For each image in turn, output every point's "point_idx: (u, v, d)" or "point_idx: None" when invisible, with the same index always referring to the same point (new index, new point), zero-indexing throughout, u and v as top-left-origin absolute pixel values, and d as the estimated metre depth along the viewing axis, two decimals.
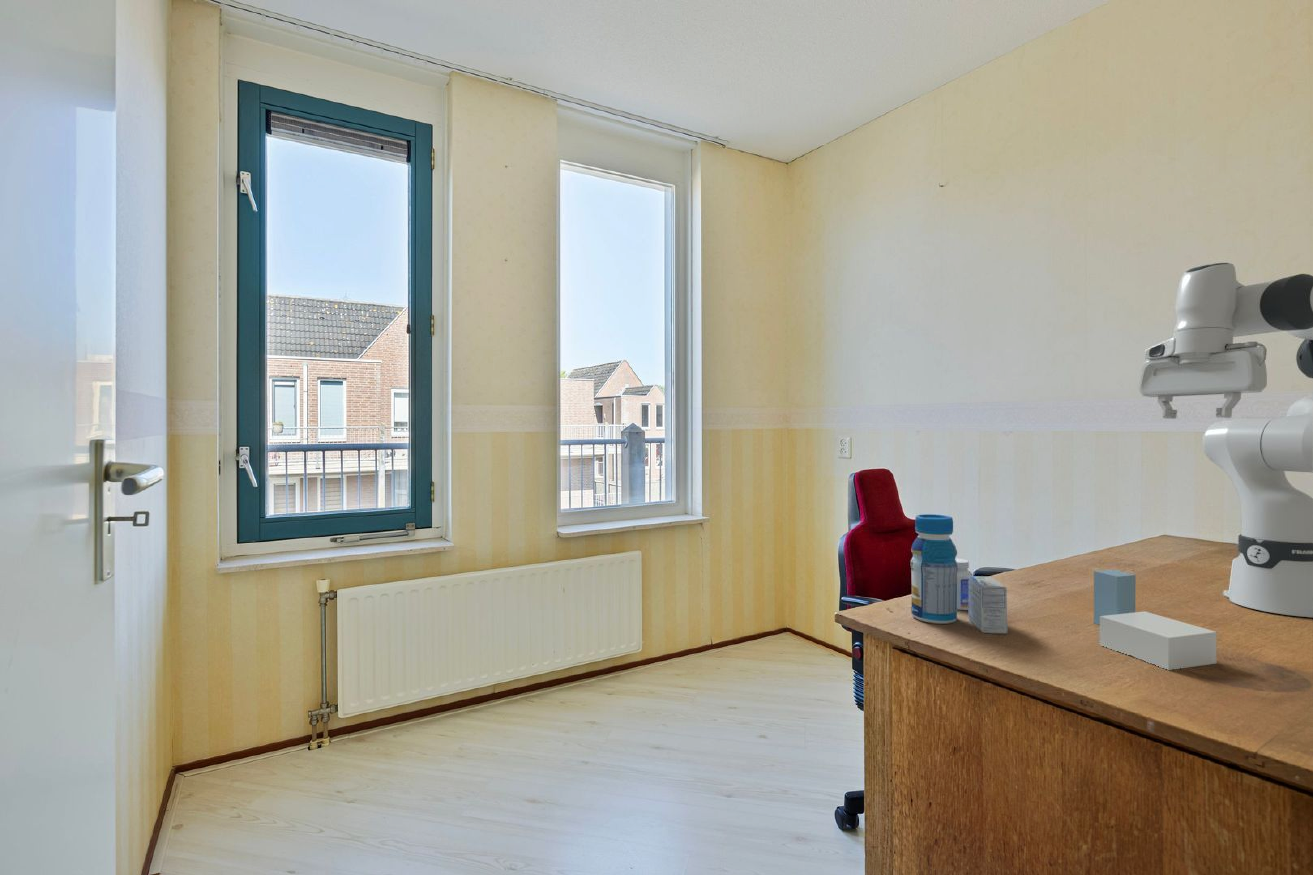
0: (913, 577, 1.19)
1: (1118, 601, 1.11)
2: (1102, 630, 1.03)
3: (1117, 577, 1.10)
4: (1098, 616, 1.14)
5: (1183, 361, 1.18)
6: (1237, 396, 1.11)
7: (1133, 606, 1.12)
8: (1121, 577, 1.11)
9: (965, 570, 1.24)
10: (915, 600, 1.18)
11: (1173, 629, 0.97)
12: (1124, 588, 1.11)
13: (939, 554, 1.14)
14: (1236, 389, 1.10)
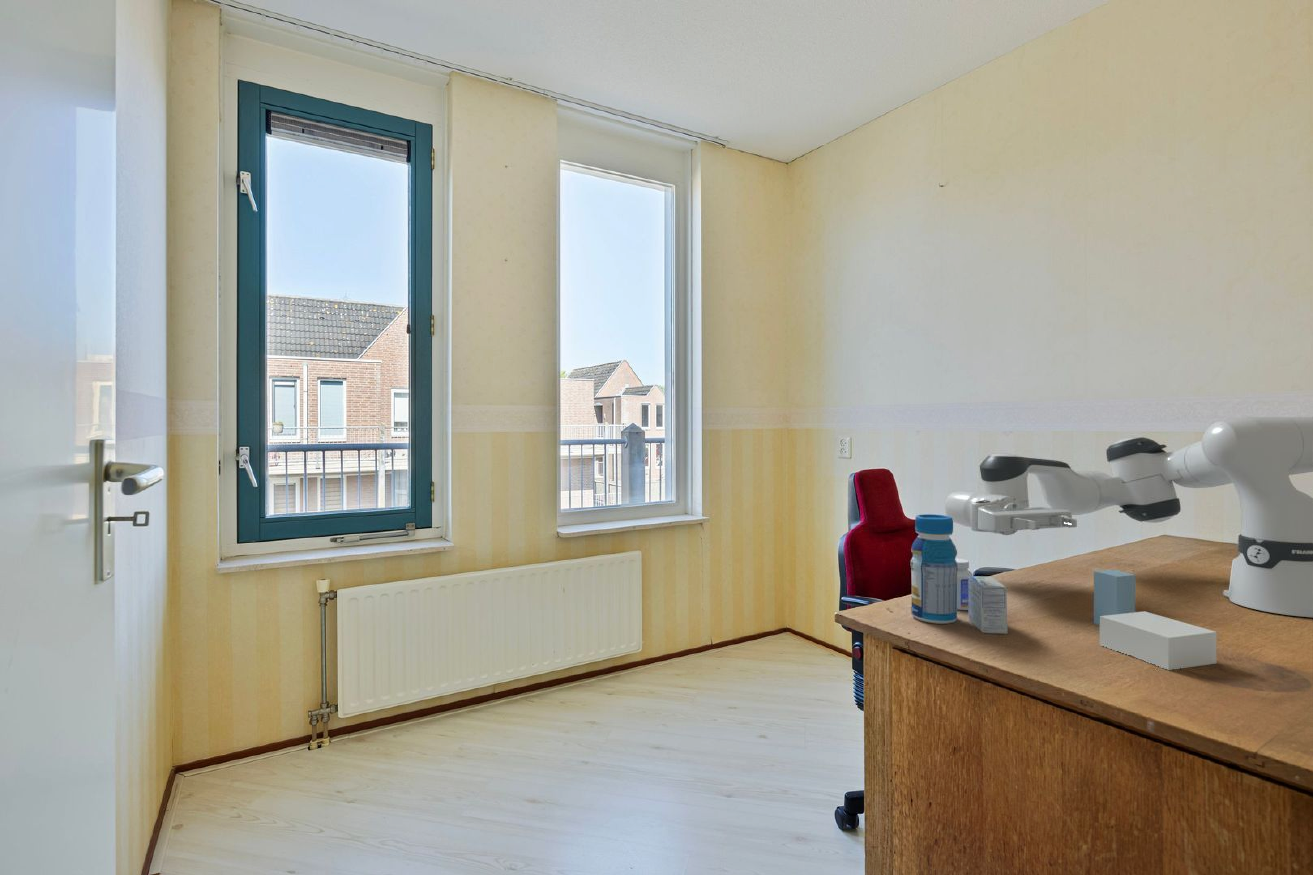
0: (913, 577, 1.19)
1: (1118, 601, 1.11)
2: (1102, 630, 1.03)
3: (1117, 577, 1.10)
4: (1098, 616, 1.14)
5: (1010, 503, 1.35)
6: None
7: (1133, 606, 1.12)
8: (1121, 577, 1.11)
9: (965, 570, 1.24)
10: (915, 600, 1.18)
11: (1173, 629, 0.97)
12: (1123, 588, 1.11)
13: (939, 554, 1.14)
14: (1063, 511, 1.32)
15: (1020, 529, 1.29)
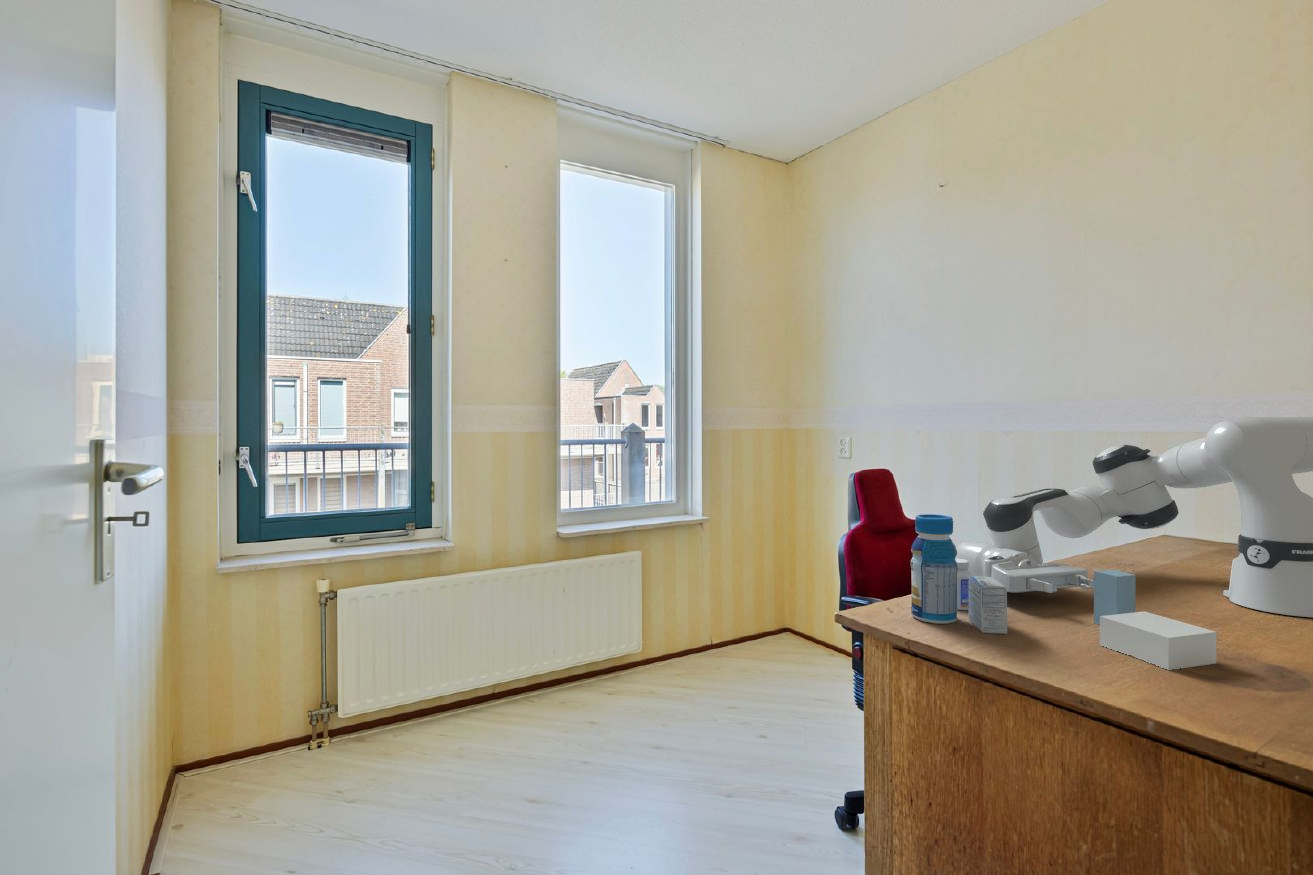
0: (913, 577, 1.19)
1: (1118, 601, 1.11)
2: (1102, 630, 1.03)
3: (1117, 577, 1.10)
4: (1098, 616, 1.14)
5: (1024, 560, 1.31)
6: None
7: (1133, 606, 1.12)
8: (1121, 577, 1.11)
9: (965, 570, 1.24)
10: (915, 600, 1.18)
11: (1173, 629, 0.97)
12: (1123, 588, 1.11)
13: (939, 554, 1.14)
14: (1079, 570, 1.28)
15: (1036, 590, 1.25)
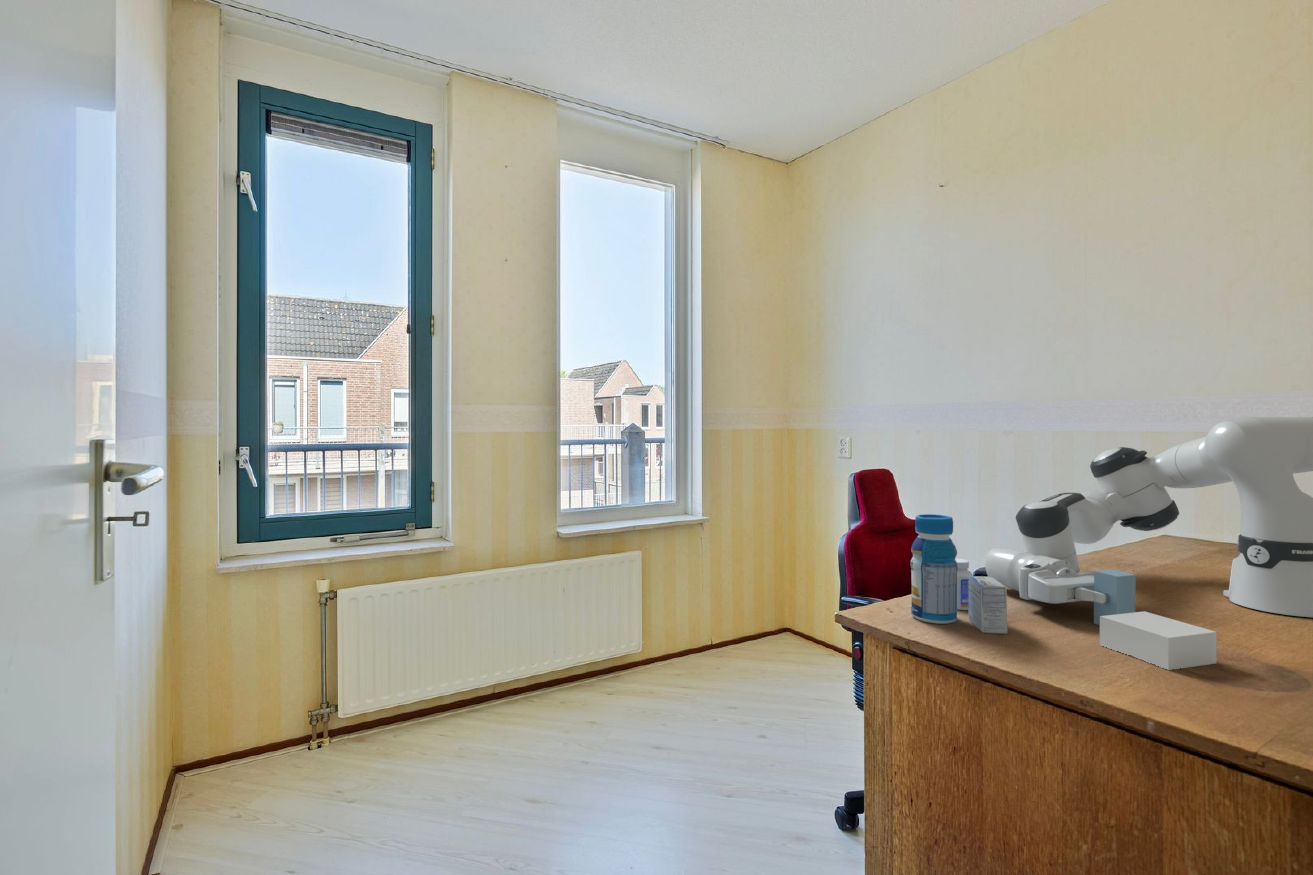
0: (913, 577, 1.19)
1: (1118, 600, 1.11)
2: (1102, 630, 1.03)
3: (1117, 577, 1.10)
4: (1098, 616, 1.14)
5: (1062, 568, 1.23)
6: None
7: (1133, 606, 1.12)
8: (1121, 577, 1.11)
9: (965, 570, 1.24)
10: (915, 600, 1.18)
11: (1173, 629, 0.97)
12: (1124, 588, 1.11)
13: (939, 554, 1.14)
14: None
15: None
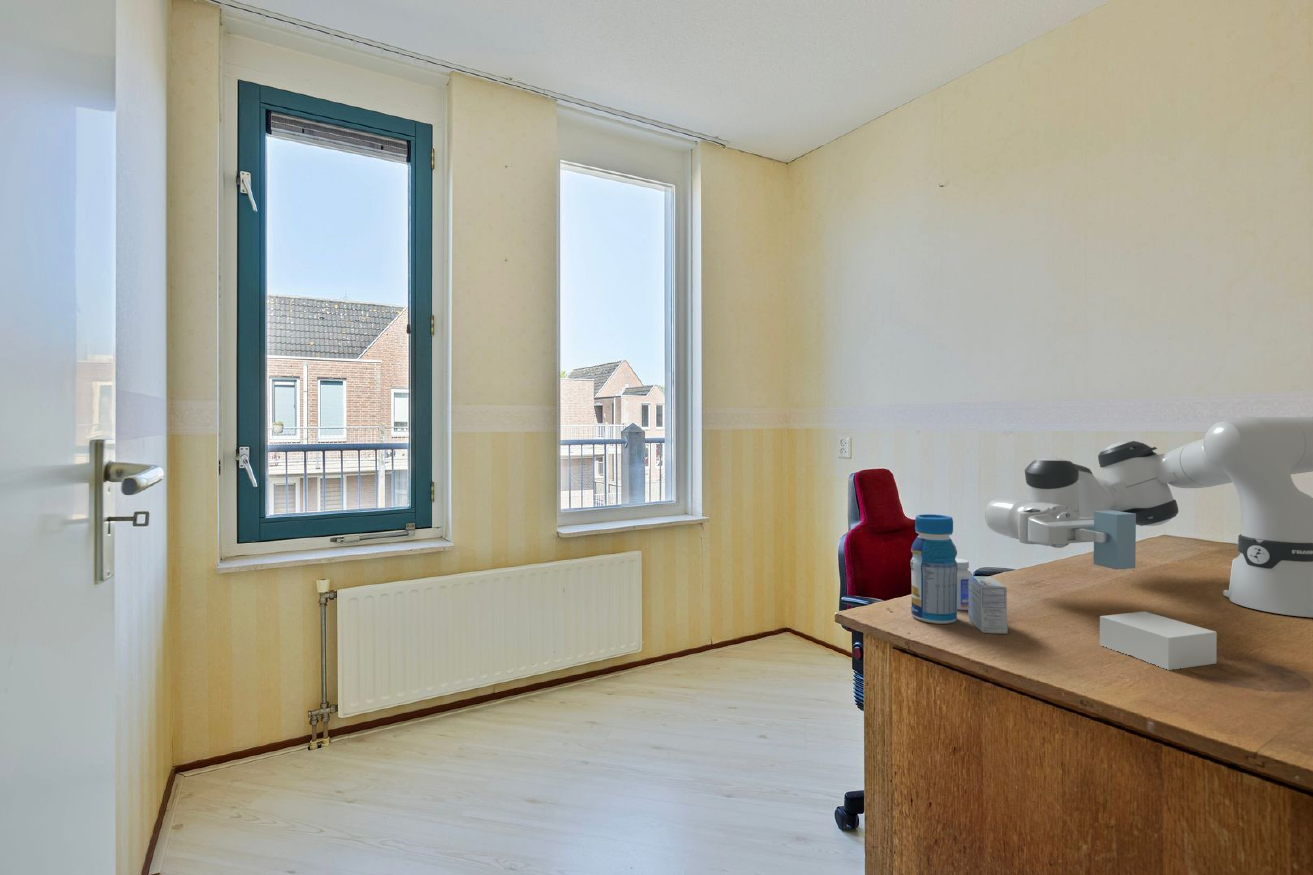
0: (913, 577, 1.19)
1: (1118, 539, 1.10)
2: (1102, 630, 1.03)
3: (1117, 515, 1.10)
4: (1098, 556, 1.13)
5: (1062, 513, 1.22)
6: None
7: (1133, 545, 1.11)
8: (1121, 515, 1.10)
9: (965, 570, 1.24)
10: (915, 600, 1.18)
11: (1173, 629, 0.97)
12: (1124, 526, 1.10)
13: (939, 554, 1.14)
14: None
15: (1077, 542, 1.15)
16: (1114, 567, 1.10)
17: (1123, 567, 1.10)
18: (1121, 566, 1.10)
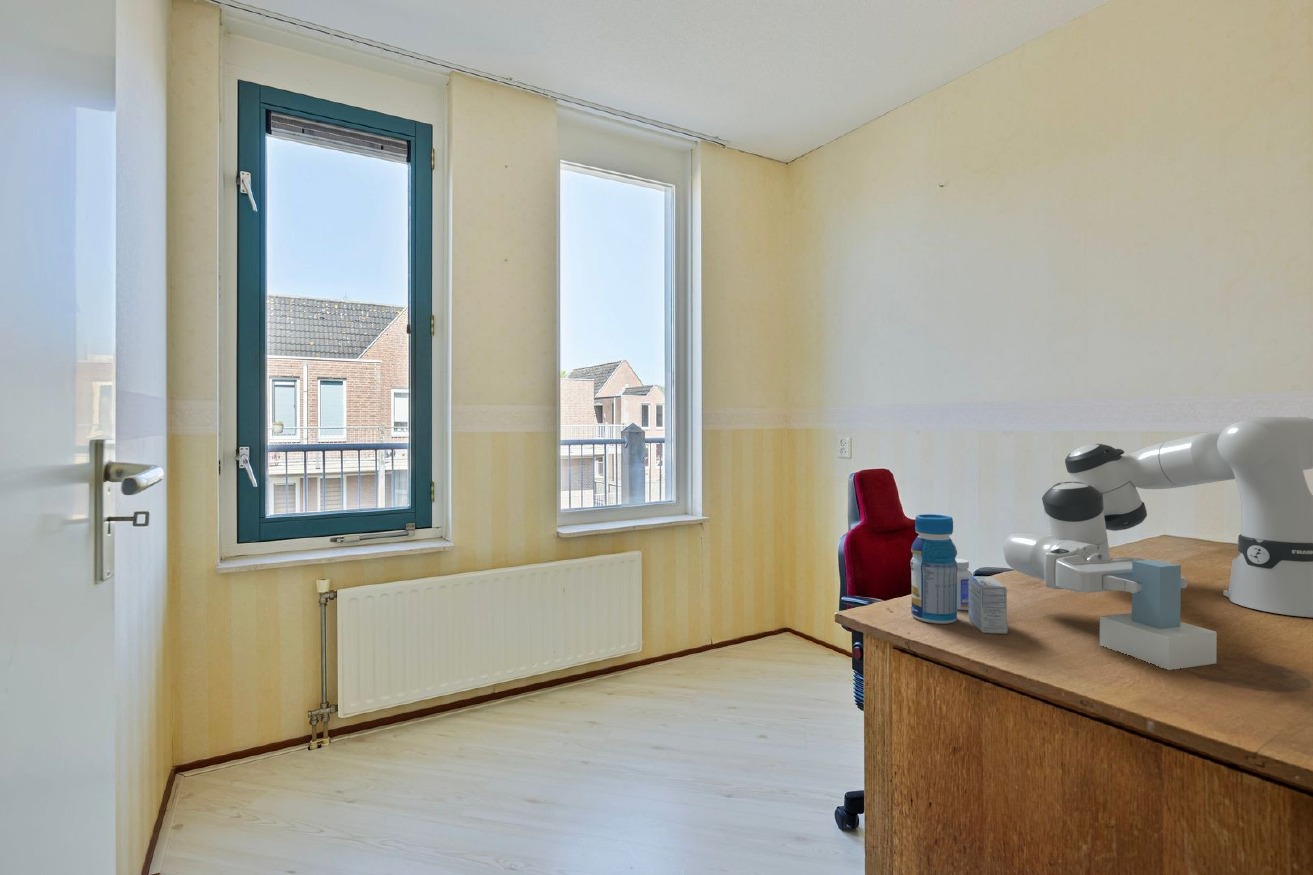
0: (913, 577, 1.19)
1: (1161, 594, 0.97)
2: (1102, 630, 1.03)
3: (1160, 567, 0.97)
4: (1137, 612, 1.00)
5: (1094, 554, 1.09)
6: None
7: (1178, 601, 0.98)
8: (1165, 567, 0.97)
9: (965, 570, 1.24)
10: (915, 600, 1.18)
11: (1173, 629, 0.97)
12: (1167, 580, 0.97)
13: (939, 554, 1.14)
14: None
15: None
16: (1157, 626, 0.97)
17: (1167, 626, 0.97)
18: (1165, 625, 0.97)
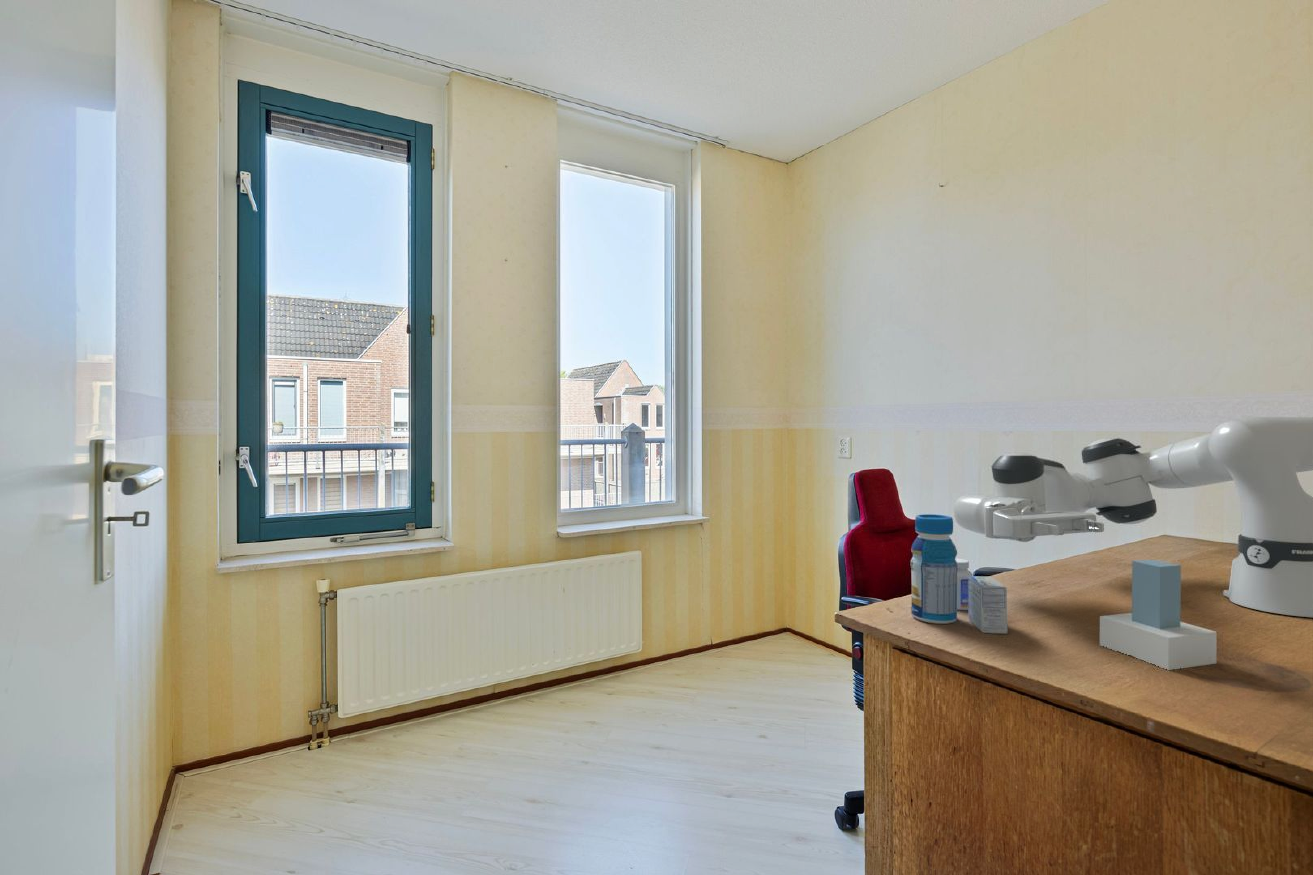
0: (913, 577, 1.19)
1: (1161, 594, 0.97)
2: (1102, 630, 1.03)
3: (1160, 567, 0.97)
4: (1137, 612, 1.00)
5: (1027, 506, 1.22)
6: None
7: (1178, 601, 0.98)
8: (1165, 567, 0.97)
9: (965, 570, 1.24)
10: (915, 600, 1.18)
11: (1173, 629, 0.97)
12: (1167, 580, 0.97)
13: (939, 554, 1.14)
14: (1087, 514, 1.19)
15: (1041, 535, 1.16)
16: (1157, 626, 0.97)
17: (1167, 626, 0.97)
18: (1165, 625, 0.97)
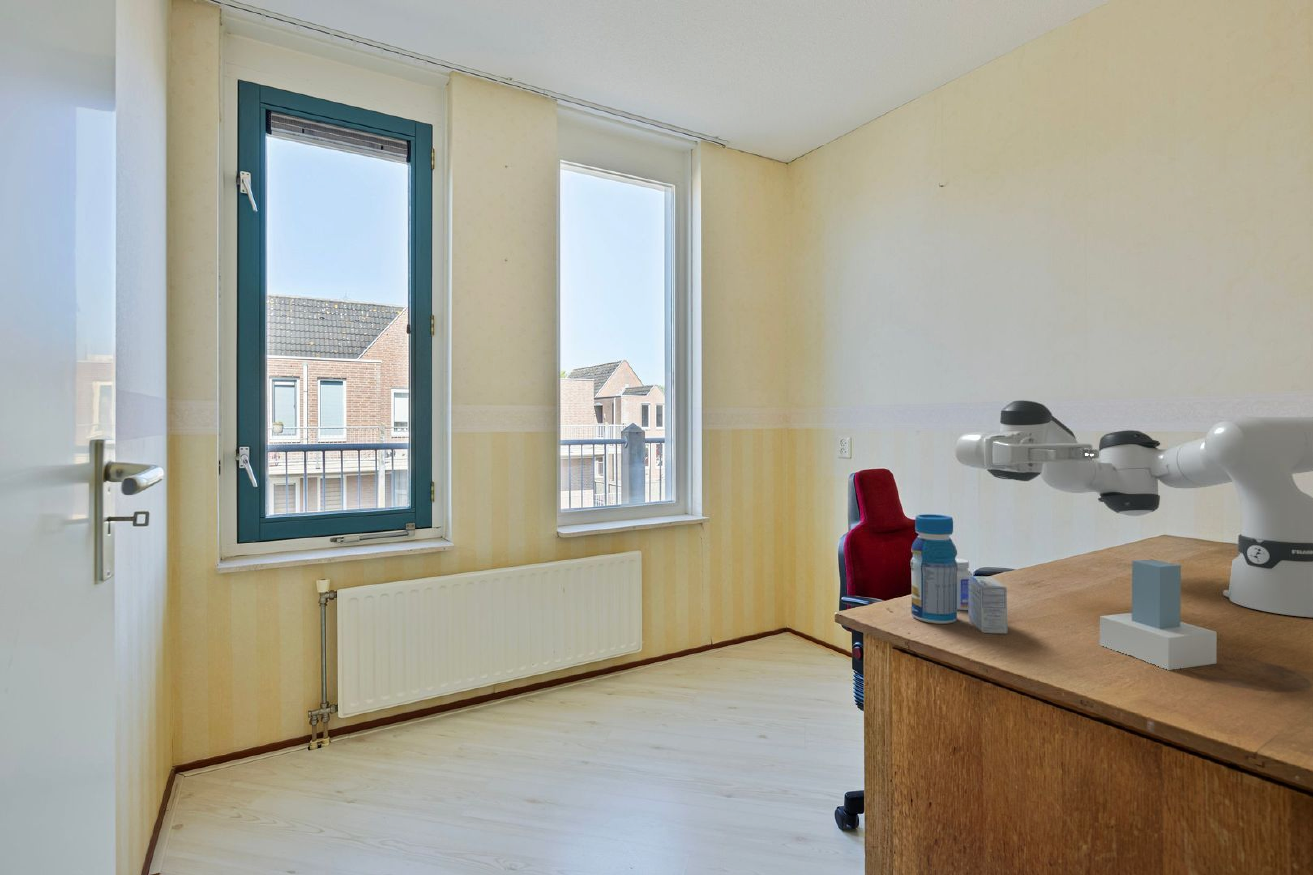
0: (913, 577, 1.19)
1: (1161, 594, 0.97)
2: (1102, 630, 1.03)
3: (1160, 567, 0.97)
4: (1137, 612, 1.00)
5: (1026, 438, 1.27)
6: None
7: (1178, 601, 0.98)
8: (1165, 567, 0.97)
9: (965, 570, 1.24)
10: (915, 600, 1.18)
11: (1173, 629, 0.97)
12: (1167, 580, 0.97)
13: (939, 554, 1.14)
14: (1083, 444, 1.24)
15: (1038, 461, 1.21)
16: (1157, 626, 0.97)
17: (1167, 626, 0.97)
18: (1165, 625, 0.97)
